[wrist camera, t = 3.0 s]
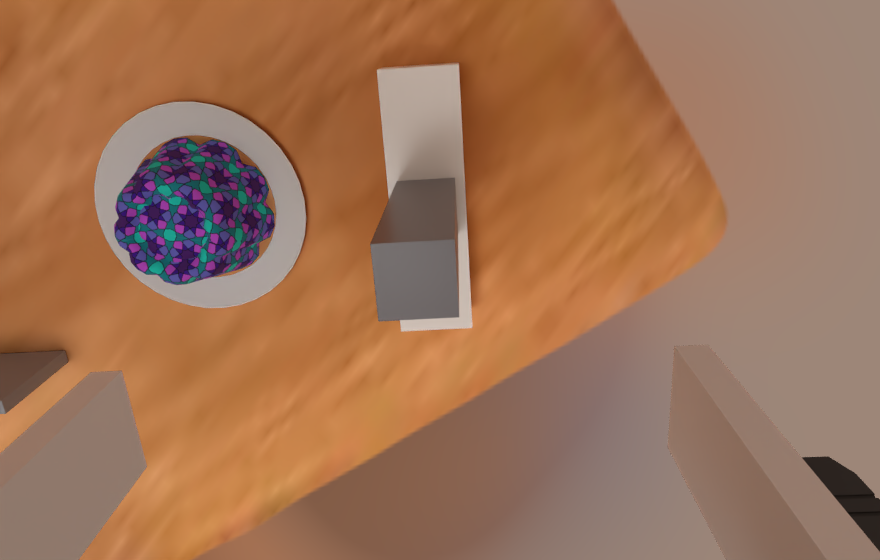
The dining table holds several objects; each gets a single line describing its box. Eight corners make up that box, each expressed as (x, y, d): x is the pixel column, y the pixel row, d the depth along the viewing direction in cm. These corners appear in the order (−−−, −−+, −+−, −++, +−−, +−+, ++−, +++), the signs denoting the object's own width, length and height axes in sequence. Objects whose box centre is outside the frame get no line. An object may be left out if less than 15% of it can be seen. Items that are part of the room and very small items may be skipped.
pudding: (291, 323, 40) (267, 363, 35) (95, 277, 39) (43, 312, 34) (326, 130, 35) (305, 144, 31) (107, 75, 35) (50, 81, 30)
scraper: (383, 67, 34) (338, 83, 21) (458, 62, 34) (460, 75, 21) (405, 310, 39) (379, 447, 26) (471, 307, 39) (479, 443, 26)
